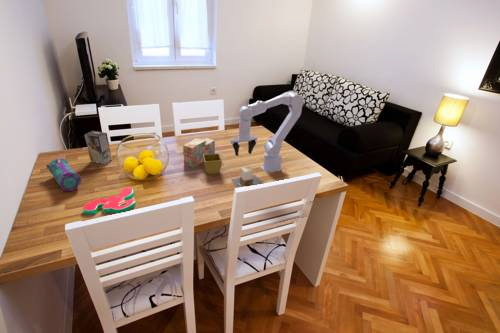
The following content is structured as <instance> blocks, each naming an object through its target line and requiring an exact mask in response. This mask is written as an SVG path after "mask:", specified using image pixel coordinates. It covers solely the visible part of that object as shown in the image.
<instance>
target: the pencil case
mask: <svg viewBox="0 0 500 333" xmlns="http://www.w3.org/2000/svg"><path fill="white" fill-rule="evenodd" d="M45 167H46V169H48V171H49V172H50V173H49V174H51V175H52V176H53V178H54V180H55V181H56V183H57V184H58V185H59V186H60V187H61V189H62V190H64V191H67V192H73V191H74V190H75V189H77V188H78V187H79V185H80V184H81V182H82V177H81V174H78V173H76V172H75V170H74V169H73V168H72V167H71V166H70V164H69V162H68V160H67V159H65V158H62V157H57V158H55V159H53V160H51V161H50V162H49V164H46V166H45Z"/></svg>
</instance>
